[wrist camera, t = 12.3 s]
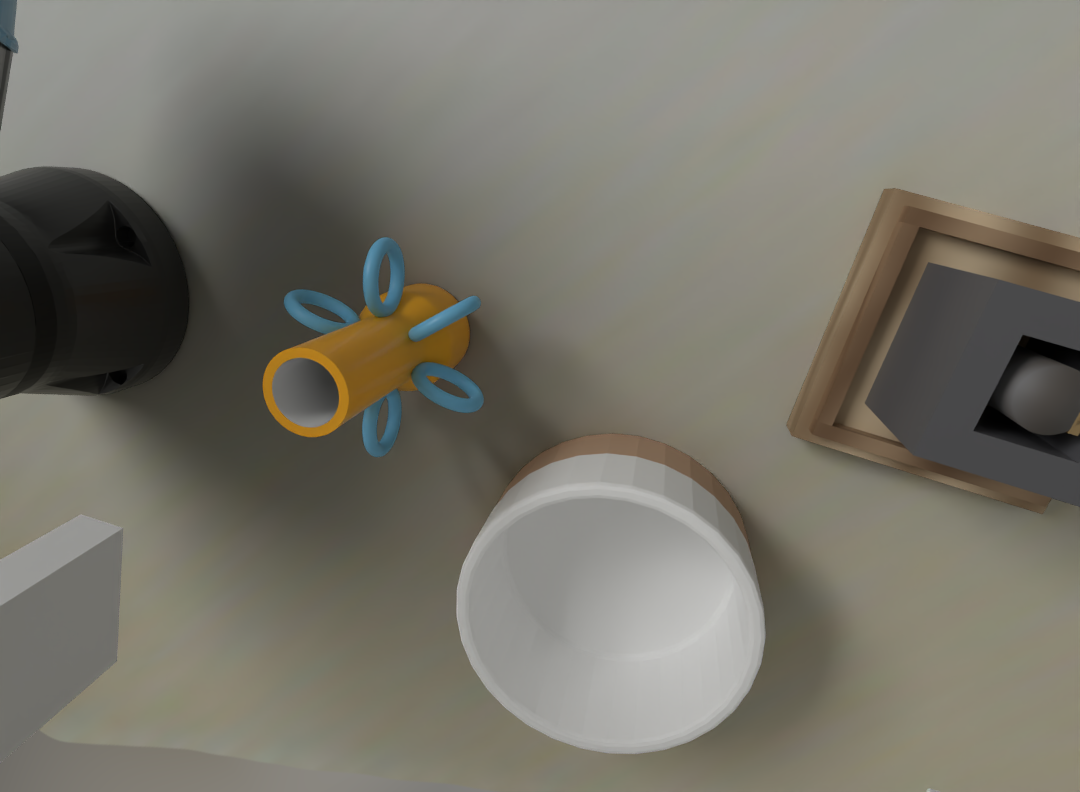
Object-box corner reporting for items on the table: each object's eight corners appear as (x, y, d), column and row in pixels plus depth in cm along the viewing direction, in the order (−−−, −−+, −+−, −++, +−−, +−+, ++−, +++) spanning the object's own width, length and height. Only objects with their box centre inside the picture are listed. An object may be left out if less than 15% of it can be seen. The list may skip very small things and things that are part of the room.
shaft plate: (786, 424, 40) (820, 493, 31) (884, 188, 36) (959, 185, 26) (1024, 499, 39) (1137, 594, 29) (1157, 262, 34) (1339, 286, 25)
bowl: (754, 433, 41) (773, 488, 33) (745, 672, 46) (760, 771, 38) (482, 429, 44) (441, 479, 36) (500, 653, 49) (466, 740, 41)
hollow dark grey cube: (864, 403, 37) (915, 457, 29) (928, 262, 35) (1002, 280, 27) (1012, 448, 36) (1104, 516, 28) (1088, 306, 34) (1213, 339, 26)
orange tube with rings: (465, 207, 40) (353, 210, 26) (547, 359, 42) (482, 439, 28) (310, 299, 44) (138, 347, 30) (391, 436, 46) (264, 542, 31)
